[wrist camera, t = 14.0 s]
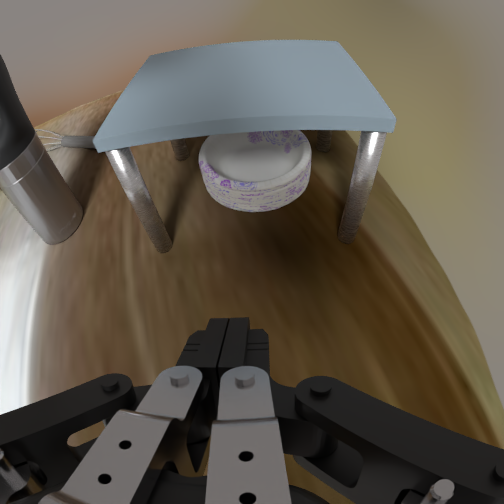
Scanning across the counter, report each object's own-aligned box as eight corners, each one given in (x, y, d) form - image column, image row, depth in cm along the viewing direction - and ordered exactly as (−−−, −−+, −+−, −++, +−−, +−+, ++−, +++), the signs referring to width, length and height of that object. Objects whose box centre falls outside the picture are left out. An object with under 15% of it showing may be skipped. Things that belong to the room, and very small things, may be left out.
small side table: (356, 245, 39) (396, 119, 22) (154, 255, 40) (92, 140, 24) (328, 142, 50) (337, 41, 34) (177, 151, 52) (150, 55, 36)
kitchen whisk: (113, 157, 54) (102, 133, 49) (25, 158, 61) (15, 141, 55) (128, 138, 57) (118, 114, 52) (38, 143, 64) (29, 126, 58)
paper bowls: (194, 220, 43) (180, 180, 36) (223, 152, 51) (216, 114, 44) (302, 234, 40) (307, 193, 33) (312, 161, 48) (315, 121, 41)
